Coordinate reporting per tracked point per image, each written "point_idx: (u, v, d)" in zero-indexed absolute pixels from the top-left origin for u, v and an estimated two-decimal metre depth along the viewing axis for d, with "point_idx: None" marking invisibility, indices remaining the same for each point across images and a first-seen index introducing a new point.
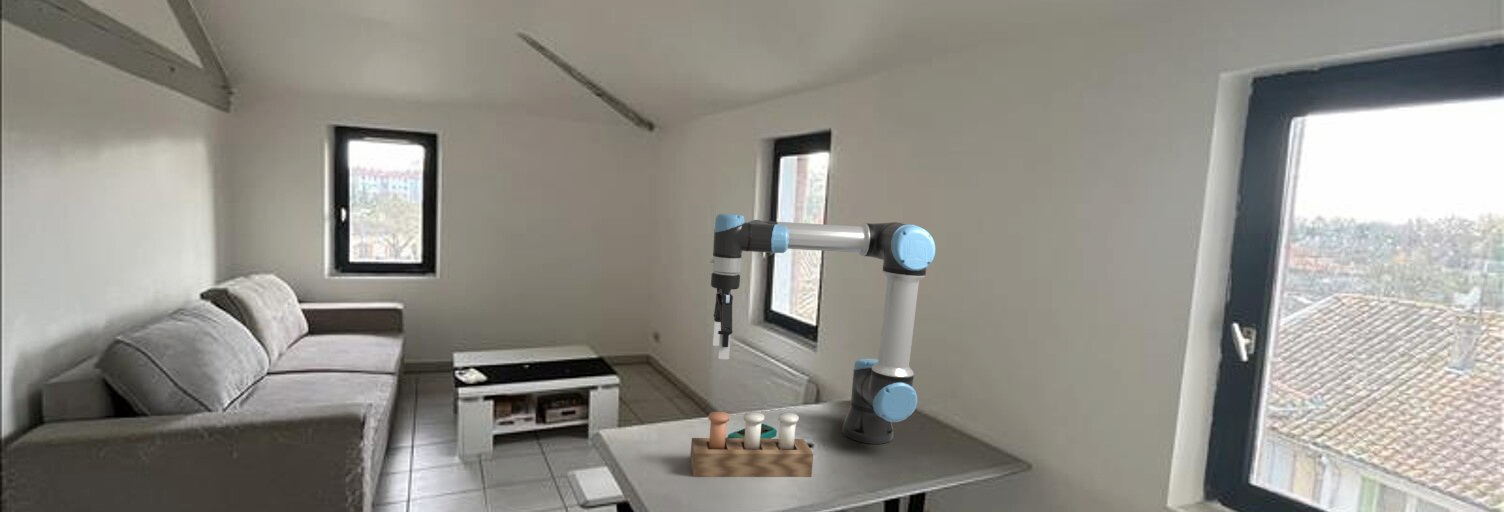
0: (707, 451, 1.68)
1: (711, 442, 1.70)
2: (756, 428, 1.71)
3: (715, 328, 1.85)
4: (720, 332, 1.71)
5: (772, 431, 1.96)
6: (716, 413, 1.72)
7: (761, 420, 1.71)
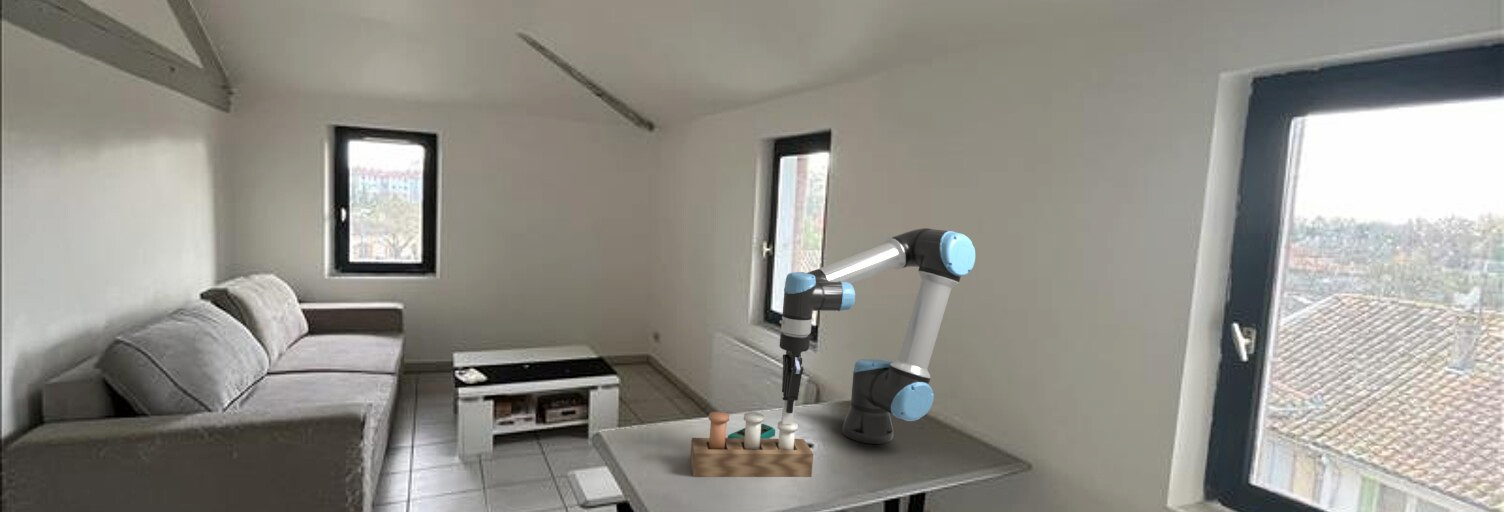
0: (707, 451, 1.68)
1: (711, 442, 1.70)
2: (756, 428, 1.71)
3: None
4: (785, 399, 1.72)
5: (771, 430, 1.96)
6: (716, 413, 1.72)
7: (761, 420, 1.71)
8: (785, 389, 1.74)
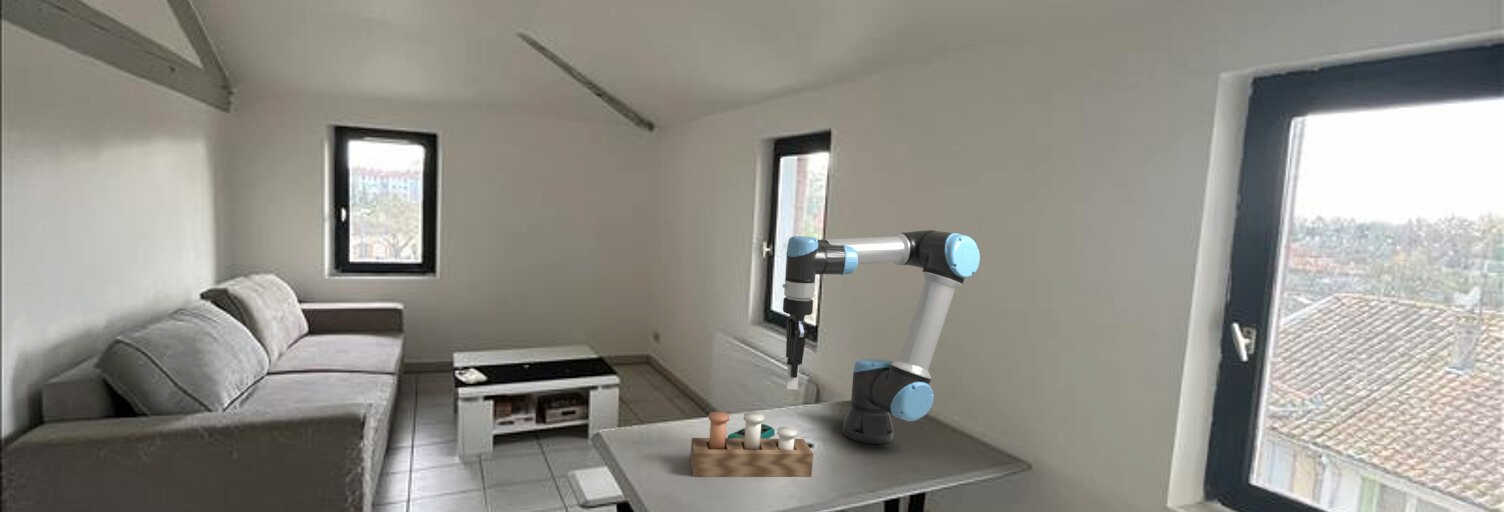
0: (707, 451, 1.68)
1: (711, 442, 1.70)
2: (756, 428, 1.71)
3: None
4: (789, 364, 1.71)
5: (770, 430, 1.97)
6: (716, 413, 1.72)
7: (761, 420, 1.71)
8: (789, 354, 1.73)
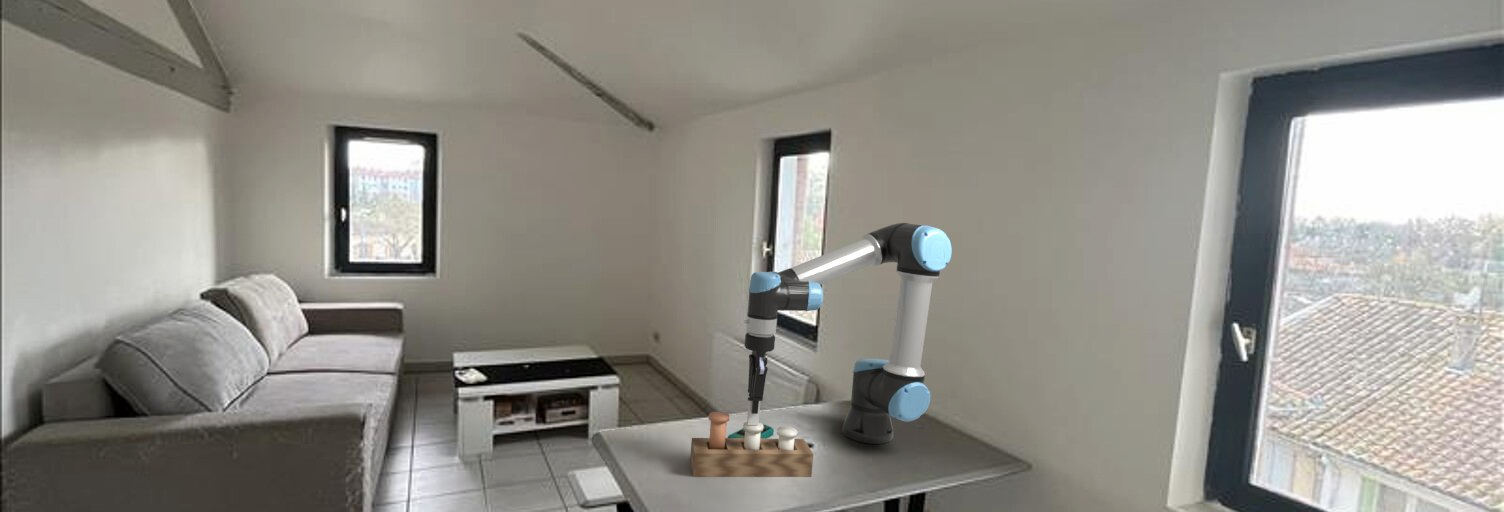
0: (707, 451, 1.68)
1: (711, 442, 1.70)
2: (755, 437, 1.71)
3: None
4: (750, 400, 1.70)
5: (770, 430, 1.97)
6: (716, 413, 1.72)
7: (760, 429, 1.71)
8: (750, 389, 1.72)
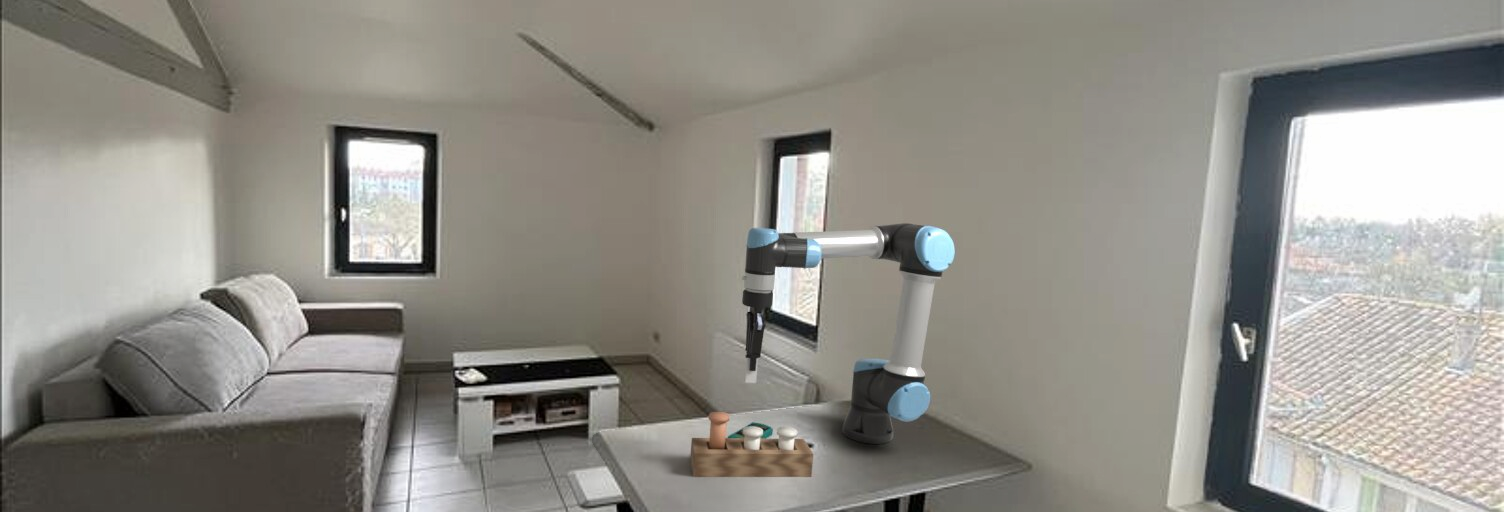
0: (707, 451, 1.68)
1: (711, 442, 1.70)
2: (755, 442, 1.72)
3: None
4: (748, 357, 1.69)
5: (769, 430, 1.97)
6: (716, 413, 1.72)
7: (760, 434, 1.71)
8: (748, 347, 1.71)
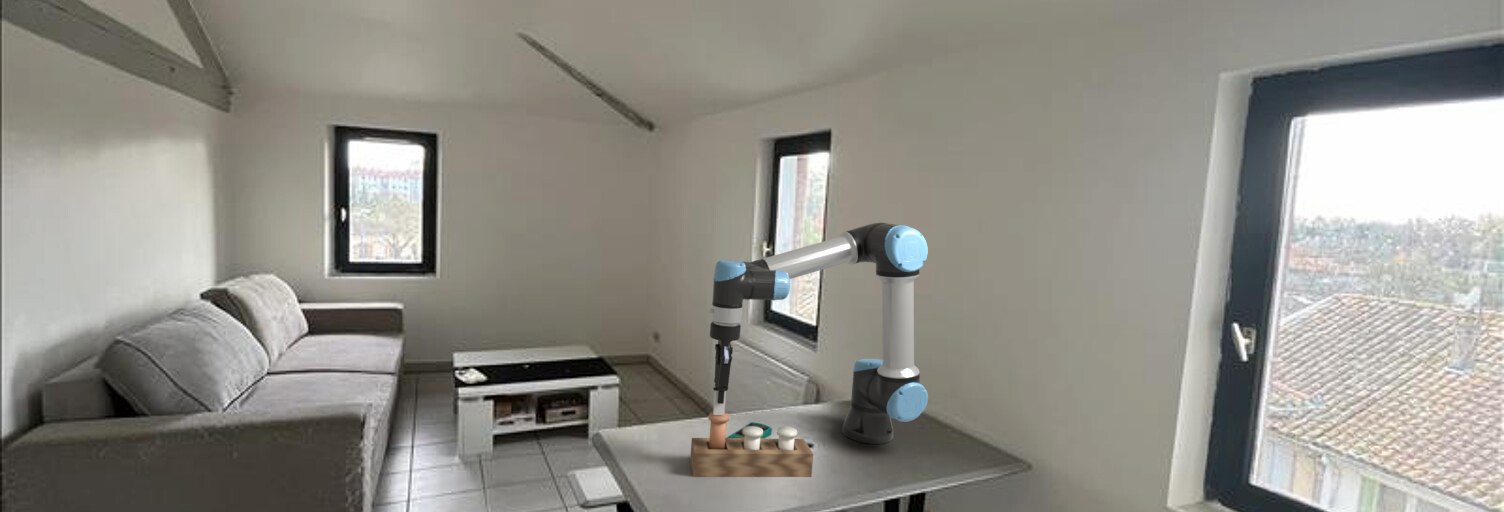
0: (707, 451, 1.68)
1: (711, 442, 1.70)
2: (755, 442, 1.72)
3: None
4: (715, 390, 1.68)
5: (768, 429, 1.97)
6: None
7: (760, 434, 1.71)
8: (716, 379, 1.71)
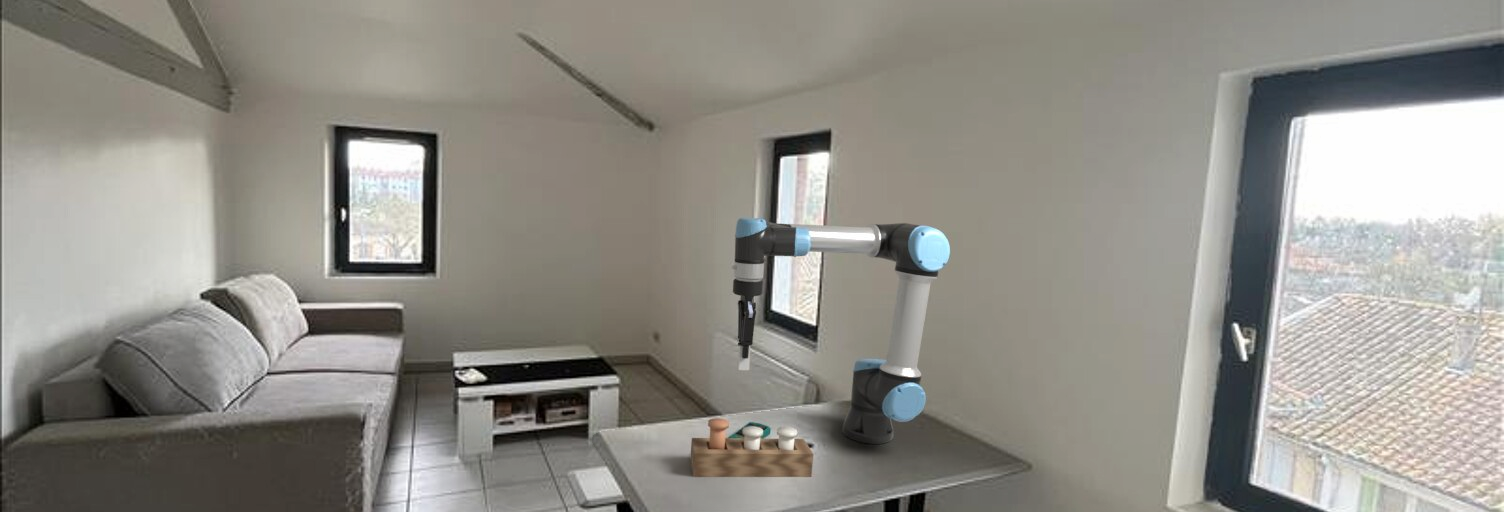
0: (707, 451, 1.68)
1: None
2: (755, 442, 1.72)
3: None
4: (740, 345, 1.72)
5: (767, 429, 1.97)
6: (716, 420, 1.72)
7: (760, 434, 1.71)
8: (740, 335, 1.74)
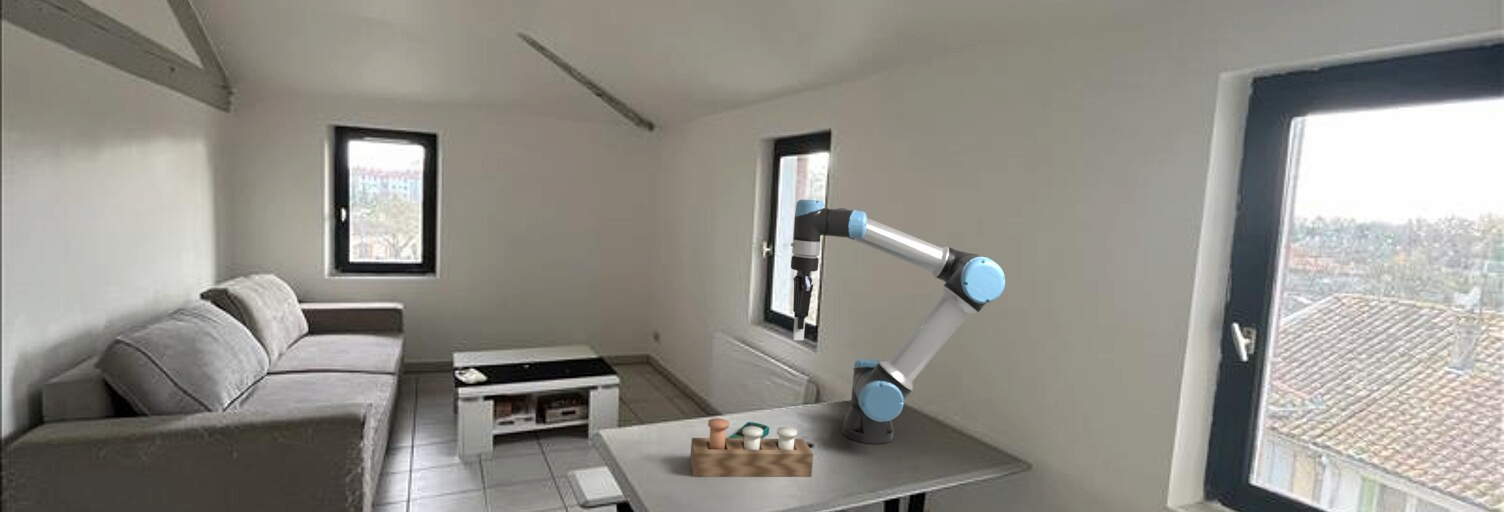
0: (707, 451, 1.68)
1: None
2: (755, 442, 1.72)
3: None
4: (796, 316, 1.86)
5: (766, 429, 1.98)
6: (716, 420, 1.72)
7: (760, 434, 1.71)
8: (796, 308, 1.89)
